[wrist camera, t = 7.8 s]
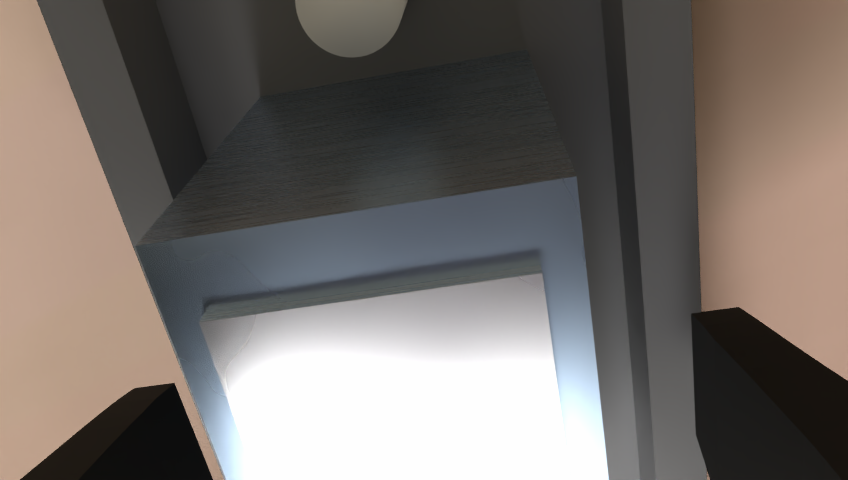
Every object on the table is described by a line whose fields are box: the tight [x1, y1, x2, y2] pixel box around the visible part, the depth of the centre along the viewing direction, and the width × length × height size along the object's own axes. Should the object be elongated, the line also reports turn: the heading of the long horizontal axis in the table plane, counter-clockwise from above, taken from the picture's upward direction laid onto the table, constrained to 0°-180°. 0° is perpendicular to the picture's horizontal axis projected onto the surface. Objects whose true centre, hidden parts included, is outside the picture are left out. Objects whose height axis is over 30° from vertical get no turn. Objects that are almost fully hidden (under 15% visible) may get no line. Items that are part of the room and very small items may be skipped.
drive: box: [135, 49, 609, 480], centre depth 11 cm, size 8×4×5 cm, turn 11°
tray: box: [37, 0, 707, 480], centre depth 12 cm, size 13×8×3 cm, turn 10°
